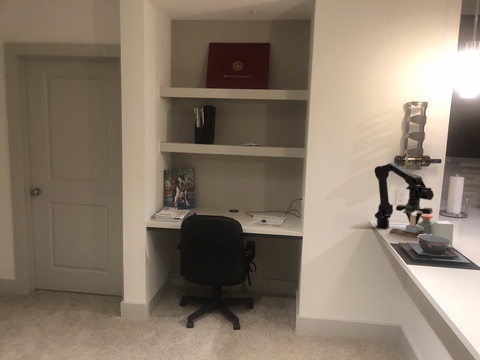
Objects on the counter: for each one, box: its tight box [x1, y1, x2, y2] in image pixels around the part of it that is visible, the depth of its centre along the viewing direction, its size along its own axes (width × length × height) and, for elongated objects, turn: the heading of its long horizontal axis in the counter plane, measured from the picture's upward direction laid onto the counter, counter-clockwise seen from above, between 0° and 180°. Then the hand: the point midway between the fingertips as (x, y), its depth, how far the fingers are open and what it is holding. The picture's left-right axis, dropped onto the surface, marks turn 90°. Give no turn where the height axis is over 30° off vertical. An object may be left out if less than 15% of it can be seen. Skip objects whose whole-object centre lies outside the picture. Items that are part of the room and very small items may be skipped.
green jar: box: [417, 220, 434, 235], centre depth 223 cm, size 8×7×6 cm
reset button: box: [420, 214, 433, 224], centre depth 222 cm, size 5×5×6 cm
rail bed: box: [389, 227, 426, 239], centre depth 219 cm, size 18×7×4 cm, turn 46°
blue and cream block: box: [405, 214, 421, 233], centre depth 216 cm, size 6×7×9 cm
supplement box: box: [433, 220, 454, 247], centre depth 196 cm, size 7×7×13 cm
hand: (413, 223), depth 216 cm, fingers closed on blue and cream block, 3 cm apart
